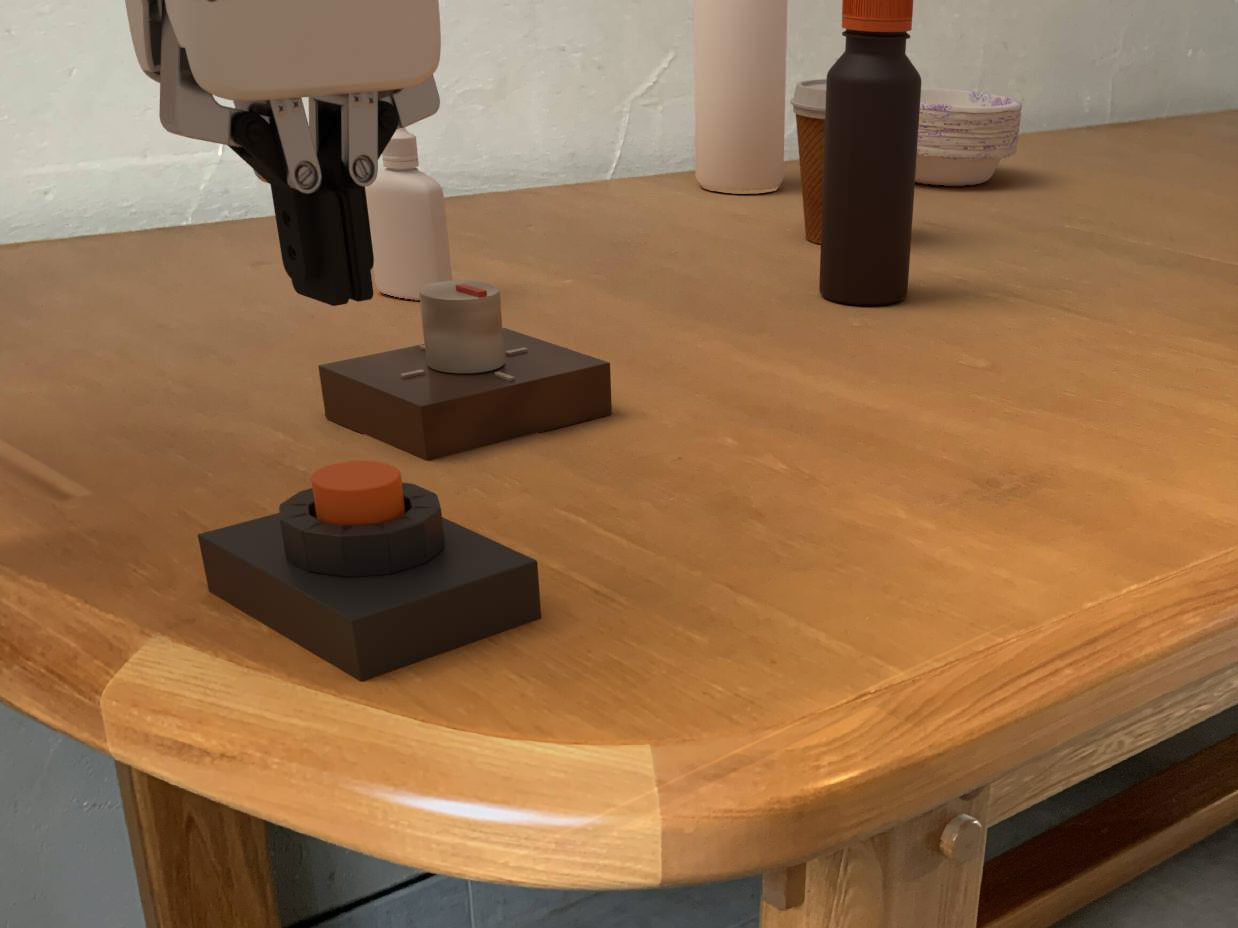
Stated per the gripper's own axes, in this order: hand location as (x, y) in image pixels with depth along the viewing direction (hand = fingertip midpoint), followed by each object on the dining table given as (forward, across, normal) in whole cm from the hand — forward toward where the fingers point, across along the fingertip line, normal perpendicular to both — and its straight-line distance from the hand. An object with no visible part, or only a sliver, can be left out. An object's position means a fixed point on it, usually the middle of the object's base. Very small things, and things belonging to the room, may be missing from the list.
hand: (333, 295), depth 59 cm
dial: (+10, -19, -19) cm, 29 cm away
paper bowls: (+13, -104, -53) cm, 117 cm away
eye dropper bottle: (+13, -33, -45) cm, 57 cm away
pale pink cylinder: (+13, -83, -62) cm, 104 cm away
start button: (+9, 0, 0) cm, 9 cm away
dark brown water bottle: (+13, -59, -24) cm, 65 cm away
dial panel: (+13, -19, -19) cm, 30 cm away
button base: (+13, 0, 0) cm, 13 cm away
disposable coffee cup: (+13, -73, -39) cm, 84 cm away
